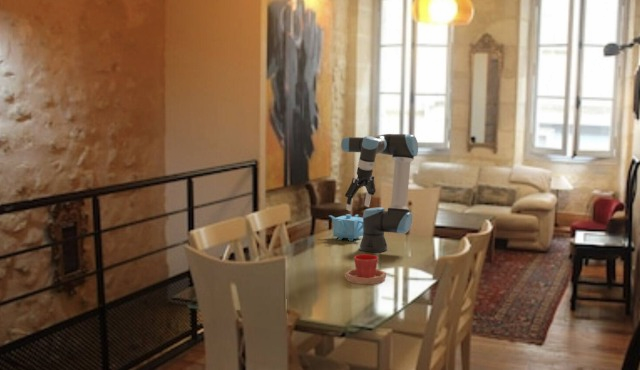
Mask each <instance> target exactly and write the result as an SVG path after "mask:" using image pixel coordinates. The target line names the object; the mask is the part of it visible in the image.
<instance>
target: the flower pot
mask: <svg viewBox="0 0 640 370" xmlns="http://www.w3.org/2000/svg"><path fill="white" fill-rule="evenodd" d="M353 259H354V265H355V269H356V271H357V276H358V277H363V278H371V277H374V276H375V271H376V269H377V267H378V266H377V265H378V261H379V257H378V256H377V255H374V254H356V255H355V256H354V258H353Z"/></svg>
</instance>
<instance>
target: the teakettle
mask: <svg viewBox="0 0 640 370" xmlns="http://www.w3.org/2000/svg"><path fill="white" fill-rule="evenodd" d="M329 217H330V218H331V221H332V226H333V228H332V229H333V230H332V234H333V236H332V237H334V238H335V237H336V238H337V240H338V241H342V239H343V240H344V239H348V240H349V242H353V241H354V240H359V238H360V237H363V217H360V216H359V214H355V215H353V216H352V214H351V213H350V214H349V213H348V214H347V213H346V214H345V215H341V216H338V217H335V216H333V215H329Z"/></svg>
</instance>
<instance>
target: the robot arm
mask: <svg viewBox="0 0 640 370" xmlns="http://www.w3.org/2000/svg"><path fill="white" fill-rule="evenodd" d="M340 142H341V144H340V146H341V147H340V148H341V150H342V152H344V153H360V154H359V158H358V165H357V170H356V175H357V177H356V178H355V177H353V178H352V179H351V183H350V185H349V187H348V189H347V190H346V193H345V195H344V197H346V198H347V200H346V207H345V210H347V211H348V212H351V211H352V209H353V203H354V196H355V195H356V194H357V192H358V191H359V190H360V189H361V188H362V187H365V189H366V191H367V192H366V194H365V195H366V196H365V200H364V206H365V207H367V208H366V209H364V211H363V215H362V218H363V236H362V238H361V241H360V243H359V250H360V251H362V252H367V253H382V252H386V251H387V250H388V244H387V241H386V238H385V233H390V234H391V233H392V234H397V235H398V234H407V233H408V232H409V231H410V229H411V227H412V224H413V223H412V222H413V215H412V212H410V208H409V207H408V195H409V194H408V193H409V184H410V183H409V182H410V172H411V163H412V161H414V157H417V156H418V153H419V145H418V144H419V143H418V140H417V137H416V136H415V135H413V134H407V133H405V134H404V133H403V134H402V133H387V134H386V133H384V134H378V135H373V136H370V135H367V136H364V137H363V136H362V137H355V136H345V137H343V138H342V139H341V141H340ZM377 154H381V155H387V156H391V157H392V160H394V165H393V167H394V168H393V179H392V189H391V201H390V202H391V203H390V205H389V206H388V207H387V210H386V209H385V208H384V207H381V206H380V207H378V206H377V207H371V208H369V207H370V205H371V204H370V203H371V200H372V198H373V196H374V195H375V193H376V185H375V176H373V172H374V170H373V169H374V166H375V161H376V156H377Z"/></svg>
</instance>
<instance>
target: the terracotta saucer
mask: <svg viewBox="0 0 640 370" xmlns="http://www.w3.org/2000/svg"><path fill="white" fill-rule="evenodd" d="M344 275H345V279H346V281H347V282H350V283H352V284H357V285H378V284H380V283H384V282H385V281H386V278H387V272H385V271H382V270H380V269H378V268H376V271H375V276H374V277H371V278H363V277H358V276H357V271H356V268H354V269H349V270H348V271H347V272H346V273H345V274H344Z"/></svg>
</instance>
